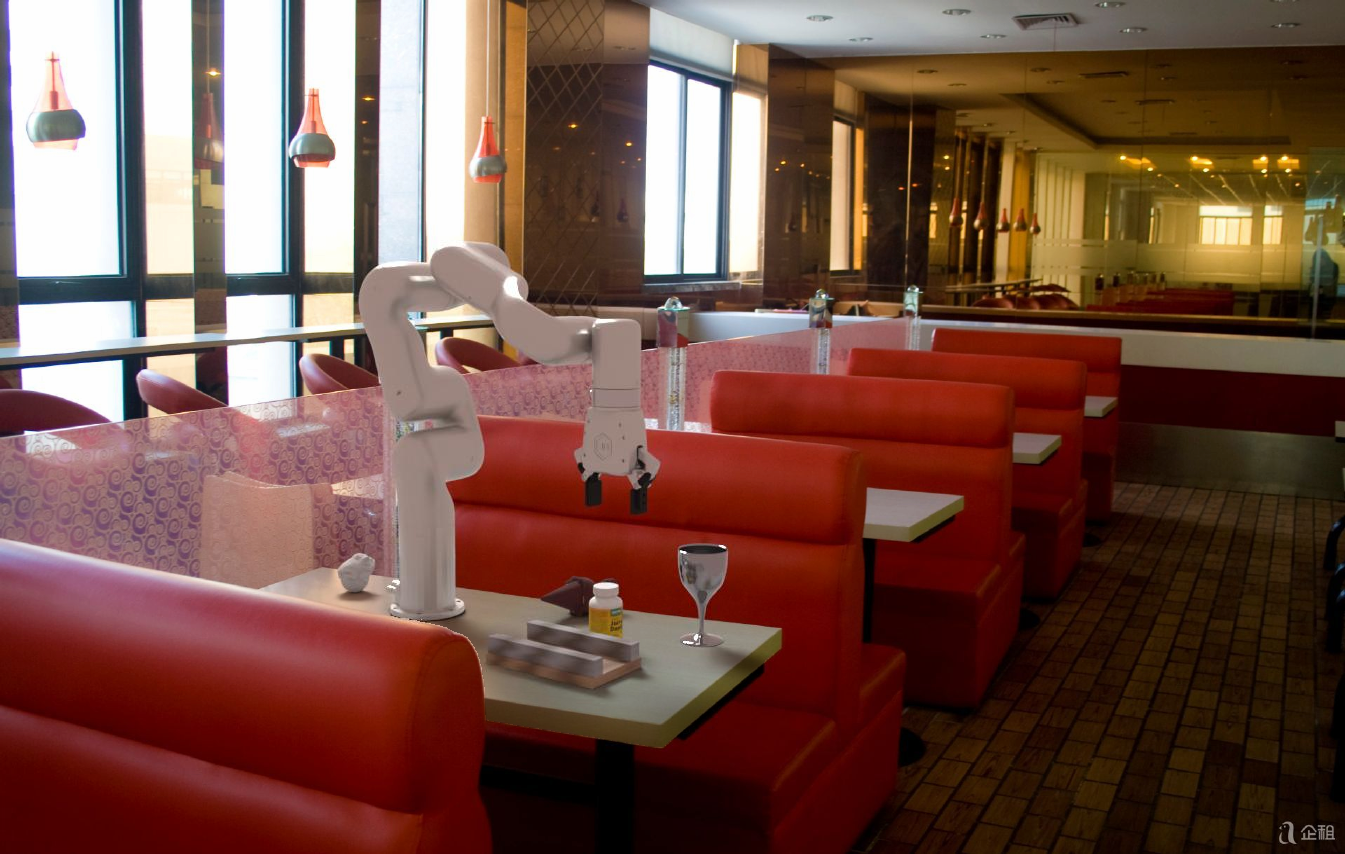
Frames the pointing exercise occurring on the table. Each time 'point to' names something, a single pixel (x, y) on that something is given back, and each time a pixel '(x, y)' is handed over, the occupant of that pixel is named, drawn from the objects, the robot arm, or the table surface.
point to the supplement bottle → (606, 610)
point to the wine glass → (702, 583)
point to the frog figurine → (356, 572)
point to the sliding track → (565, 654)
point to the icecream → (574, 595)
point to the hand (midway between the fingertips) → (615, 509)
